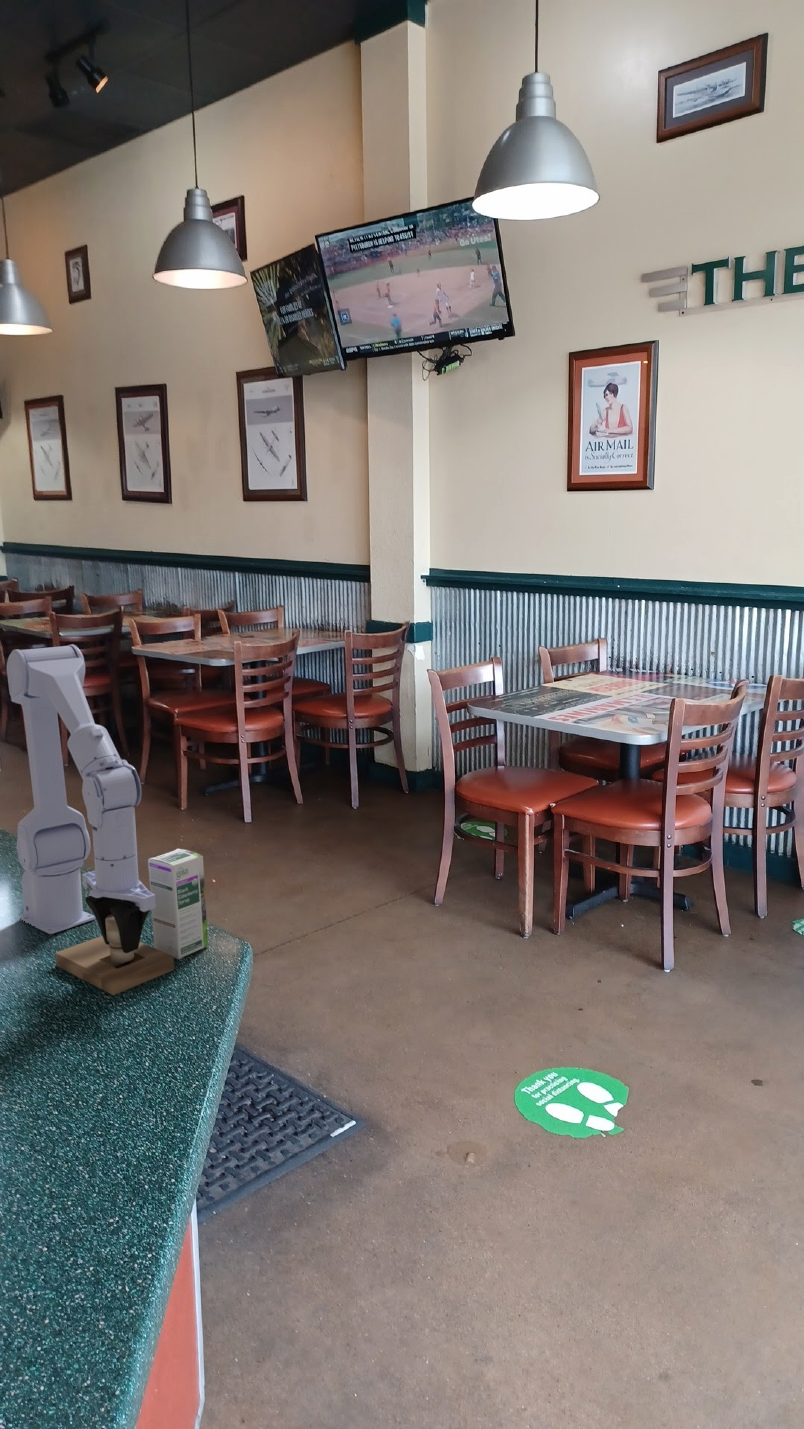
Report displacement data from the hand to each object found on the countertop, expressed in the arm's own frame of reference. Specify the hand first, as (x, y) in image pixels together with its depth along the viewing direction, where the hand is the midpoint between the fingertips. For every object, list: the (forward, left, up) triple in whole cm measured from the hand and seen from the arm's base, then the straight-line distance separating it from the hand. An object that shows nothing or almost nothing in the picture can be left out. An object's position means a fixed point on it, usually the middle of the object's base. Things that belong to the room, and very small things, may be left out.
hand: (121, 946), depth 141 cm
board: (-2, 0, -4) cm, 4 cm away
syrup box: (0, +10, -4) cm, 11 cm away
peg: (0, 0, -2) cm, 2 cm away
